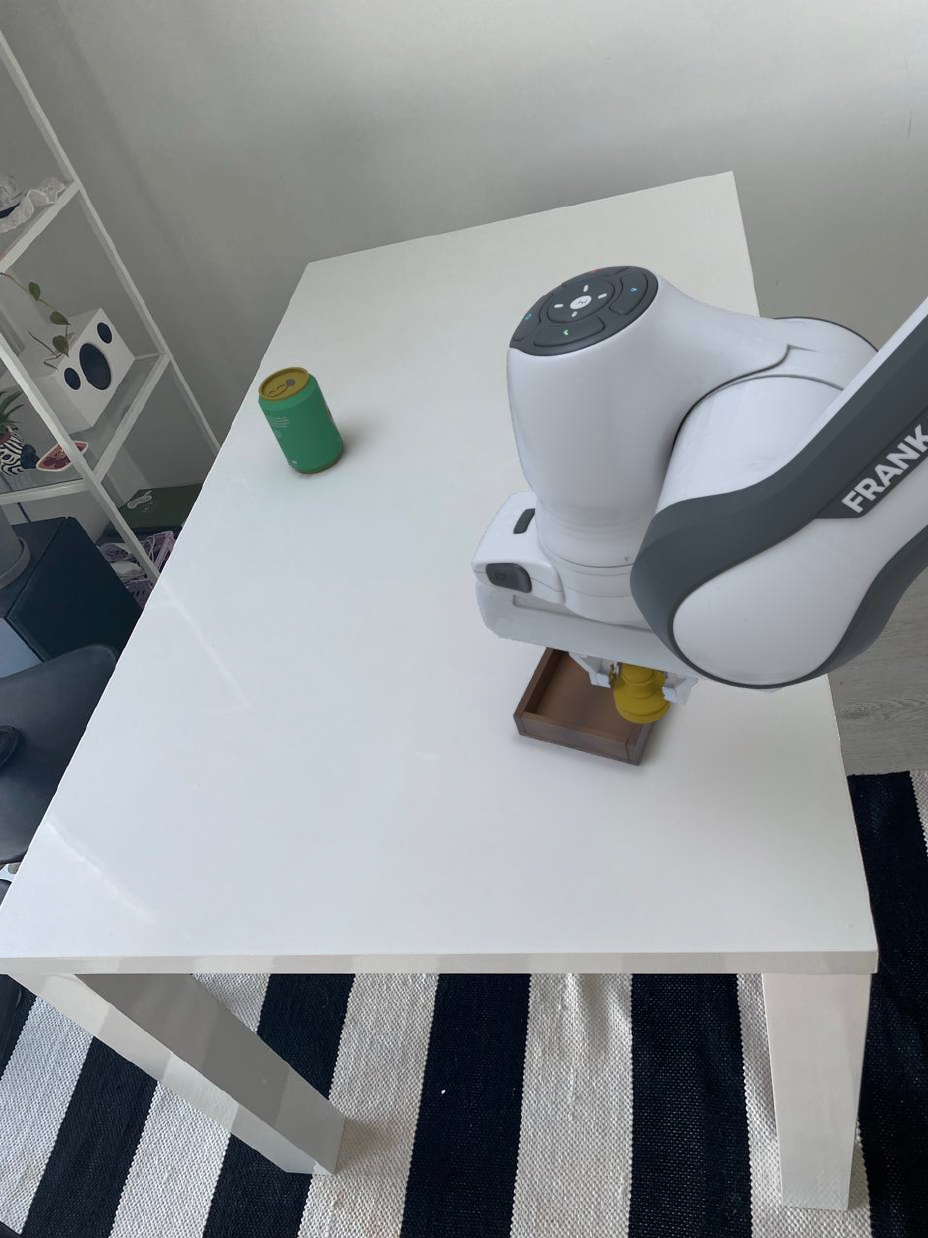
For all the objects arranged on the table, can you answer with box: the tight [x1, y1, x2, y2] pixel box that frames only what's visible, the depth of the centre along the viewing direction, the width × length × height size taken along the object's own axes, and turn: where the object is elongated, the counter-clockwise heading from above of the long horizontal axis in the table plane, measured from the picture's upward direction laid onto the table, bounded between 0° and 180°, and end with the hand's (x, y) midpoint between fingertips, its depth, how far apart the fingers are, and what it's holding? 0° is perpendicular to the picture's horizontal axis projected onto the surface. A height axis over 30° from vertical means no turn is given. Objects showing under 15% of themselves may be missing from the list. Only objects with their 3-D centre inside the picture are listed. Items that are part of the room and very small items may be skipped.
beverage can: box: [257, 366, 344, 474], centre depth 116 cm, size 8×8×12 cm
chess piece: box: [613, 663, 672, 724], centre depth 60 cm, size 4×4×5 cm
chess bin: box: [512, 647, 668, 766], centre depth 81 cm, size 12×12×3 cm
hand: (640, 686), depth 61 cm, fingers closed on chess piece, 4 cm apart
